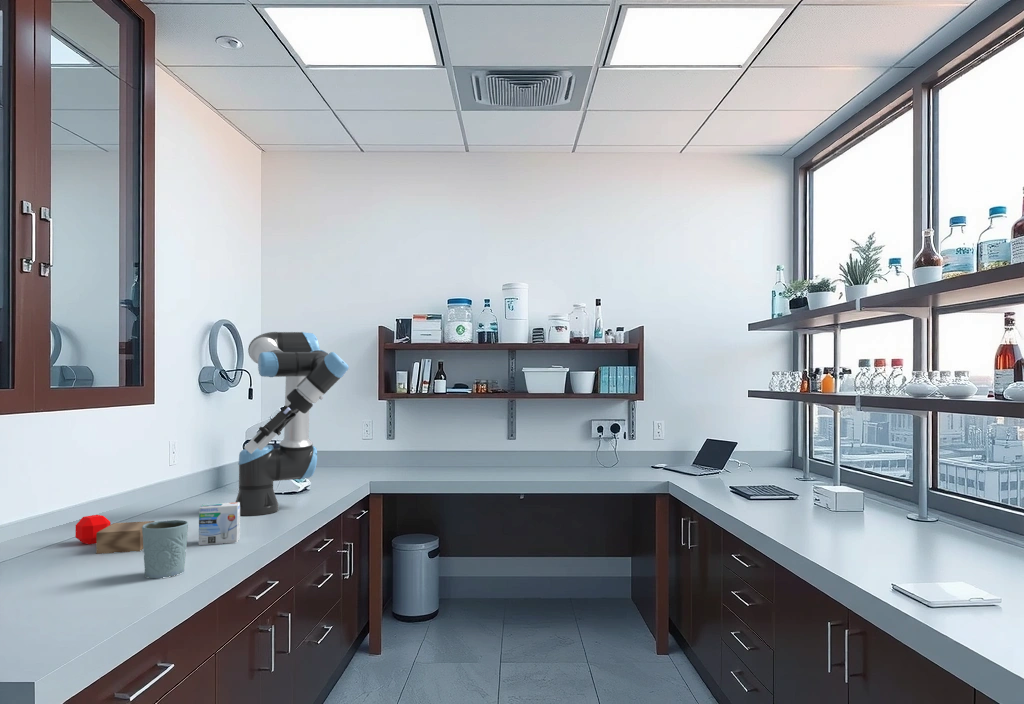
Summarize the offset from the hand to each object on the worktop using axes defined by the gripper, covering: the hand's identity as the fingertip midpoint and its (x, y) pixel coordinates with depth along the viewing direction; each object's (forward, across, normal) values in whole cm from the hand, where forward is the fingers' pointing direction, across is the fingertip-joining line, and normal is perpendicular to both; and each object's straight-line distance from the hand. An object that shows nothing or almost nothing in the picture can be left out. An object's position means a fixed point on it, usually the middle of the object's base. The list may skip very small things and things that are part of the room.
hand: (252, 449), depth 210 cm
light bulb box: (+25, 0, -12) cm, 28 cm away
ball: (+51, +8, +15) cm, 54 cm away
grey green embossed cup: (+29, -35, -10) cm, 46 cm away
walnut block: (+43, -1, +6) cm, 43 cm away
